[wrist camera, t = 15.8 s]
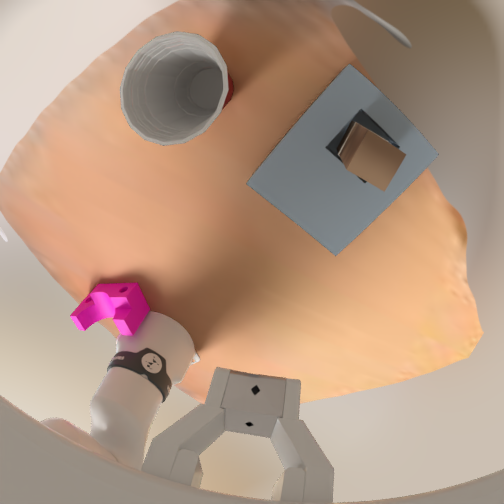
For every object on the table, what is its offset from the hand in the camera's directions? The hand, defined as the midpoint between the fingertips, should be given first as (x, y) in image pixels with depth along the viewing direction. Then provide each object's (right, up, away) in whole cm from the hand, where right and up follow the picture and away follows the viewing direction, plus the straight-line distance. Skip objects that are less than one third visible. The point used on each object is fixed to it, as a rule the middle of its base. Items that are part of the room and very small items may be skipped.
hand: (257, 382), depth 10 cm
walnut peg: (+12, +17, +21) cm, 30 cm away
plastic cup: (-5, +25, +22) cm, 33 cm away
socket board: (+11, +16, +23) cm, 30 cm away
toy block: (-27, -4, +44) cm, 52 cm away
